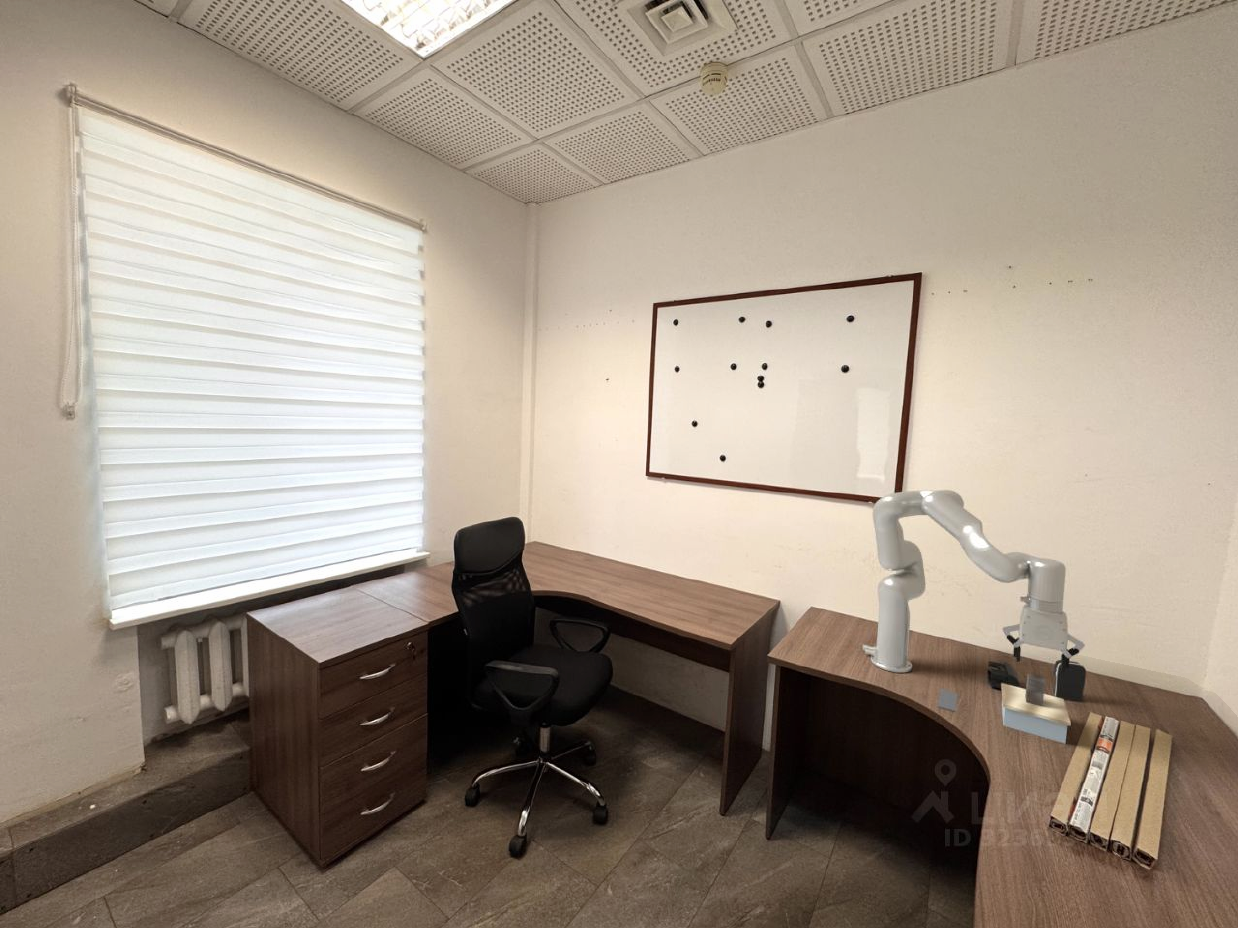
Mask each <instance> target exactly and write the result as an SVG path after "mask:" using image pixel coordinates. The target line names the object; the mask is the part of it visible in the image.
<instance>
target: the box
mask: <svg viewBox="0 0 1238 928" xmlns="http://www.w3.org/2000/svg"><path fill="white" fill-rule="evenodd" d="M1001 714H1002V723H1003V727H1007V728H1011V729H1014V730H1016V731H1017V730H1018V731H1021V732H1024V733H1027V734H1030V735H1034V736H1037V737H1040V738H1044V739H1047V740H1051V741H1054V742H1058V743H1060V744H1061V743H1062V744H1064V745H1066V740H1067V731H1068V725H1065V724H1062V723H1058V722H1054V721H1051V720H1047V719H1044V718H1040V717H1036V716H1033V715H1029V714H1026V713H1022V712H1019V711H1015V710H1011V709H1008V708H1004V707H1003V701H1002V700H1001Z"/></svg>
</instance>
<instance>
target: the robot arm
mask: <svg viewBox="0 0 1238 928" xmlns="http://www.w3.org/2000/svg"><path fill="white" fill-rule="evenodd" d="M964 506H965V503H964V499H963V498H962V496H961V495H960V494H959V492H958V493H957V492H956V491H954V490H951V489H944V490H943V489H942V490H909V491H900V492H892V493H889V494H886V495H884V496H882V497H881V498H879V500H877V501H876V502H875V504H874V506H873V509H872V520H873V525H874V531H875V539H876V542H875V543H876V548H877V556H878V562H879V564H880V566H881V567H882V568H883V569H884V570H886V571H889V572H896V573H893V574H890V575H887V576H885V577H884V578H882V579H881V580H880V582H878V585H877V595H878V596H877V597H878V622H877V626H878V627H877V639H876V645H875V646H870V645H867V644H862V651H864V653H865V654H868V655H869V654H870V655H871V656H870V661H871V663H872V664H873V665H875V666H876V667H878V668H880V669H883V670H885V671H887V672H892V673H901V674H902V673H909V672H910V671H912V669H913V664H912V662H911V661H910V660H909V659H908V657H909V656H908V653H909V641H910V629H911V628H910V627H911V611H910V606H909V602H910V601H913V600H915V599H918V598H920V597H922V596H923V594H924V593H925V592H926V591H925V590H926V576H925V569H924V562H923V555H922V552H921V550H920V548H919V547H918V545H916V544H915V543H914V542H912V541H911V540H907V539H905V537H904V536H905V535H904V530H903V526H902V524H901V523H900V521H899V520H900V519H902V518H908V517H909V518H910V517H915V516H928V517H929V518H930V519H932V520H933V521H934V522H935V523H937V525H939V526H940V527H941V528H942V529H944V531H946V532H947V533H948V534H949V535H951V536H952V537H953V538H955V539H956V540H957V541H958V543H959V545H960V546H961V549H962V550H963V551H964V552H965V555H966V556H967V558H969V559H970V560H971V562H973V564H974V565H976V566H977V567H978V568H979V569H980V570H981V571H983V572H984V573H985V574H986V575H988V576H989V577H991V578H992V579H993V580H995V581H998V582H1000V583H1003V584H1010V583H1014V582H1016V581H1019V580H1025V579H1026V580H1028V583H1027V593H1026V594H1027V595H1025V596H1020V600H1019V601H1020V602H1021V603H1025V604H1024V605H1023V607H1022V610H1021V614H1020V616H1019V617H1020V618H1019V623H1017V624H1013V625H1009V626H1003V627H1002V632H1003V633H1004V635H1005V637H1006V640H1008V641H1009V642H1010V644H1011V645H1013V654H1012V655H1013V658H1015V659H1016V662H1021V653H1022V649H1021V648H1022V647H1021V646H1022V645H1023V644H1025V645H1029V646H1034V647H1039V648H1044V649H1049V650H1054V651H1060V652H1062V654H1061V656H1060V657H1061V658H1060V660H1061V670H1062V671H1063V672H1066V668H1068V669H1069V661H1070V659H1071V658H1072V657H1075V656H1076V655H1078V654H1079V653H1080V652H1081V651H1082V650H1083V649H1084V647H1085V643H1084V642H1083V641H1082V640H1080V639H1078V638H1076V637H1075V636H1073V635H1071V634H1070V633H1069V628H1068V627H1069V626H1068V617H1067V614H1066V612H1065V611H1064V609H1063V608H1064V597H1065V584H1066V583H1065V582H1066V571H1067V569H1066V565H1065V564H1064V562H1061V561H1059V560H1056V559H1050V558H1043V557H1041V558H1040V557H1038V556H1035V555H1030V554H1027V553H1023V552H1020V551H1013V552H1011V551H1010V552H1007V553H1005V554H1004V553H1003V552H1002V551H1000V550H999V549H998V548H996V547H995V545H993V544H992V543H991V542H990V541H989V540H988V538H986V536H985V534H984V530H983V522H982V521H981V520H980V519H979V518H978V517H977V516H975V515H974V514H973V513H971V512H970V511H968V510H967V509H966V508H964ZM1016 631H1018V636H1017V637H1016V638H1015V637H1013V635H1012V634H1011V633H1013V632H1016ZM1068 641H1069V642H1071V643H1073V644H1074V646H1073V647H1072V648H1069V649H1068Z"/></svg>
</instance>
